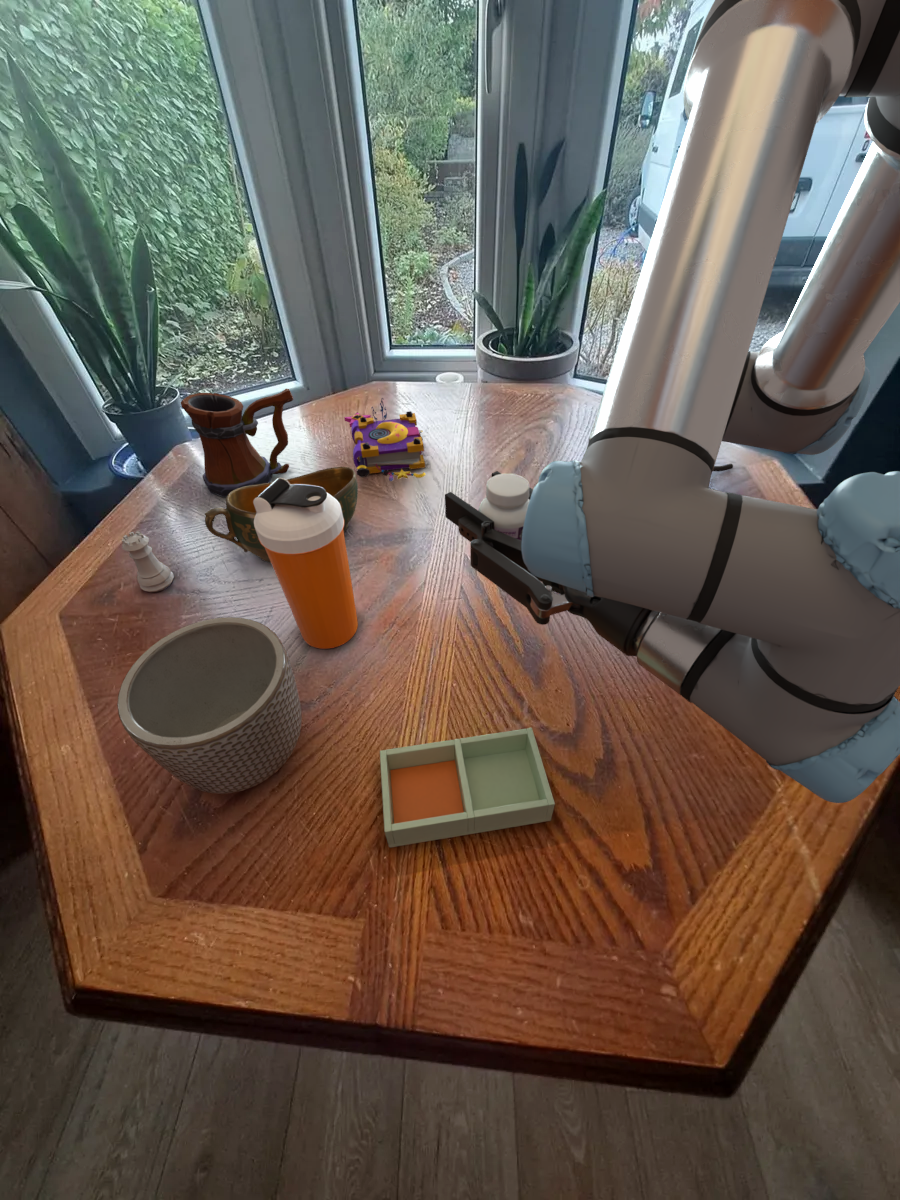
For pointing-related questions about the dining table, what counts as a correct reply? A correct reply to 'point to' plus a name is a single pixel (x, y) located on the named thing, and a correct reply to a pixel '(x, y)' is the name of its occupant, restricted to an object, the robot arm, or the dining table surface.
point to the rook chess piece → (147, 563)
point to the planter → (214, 704)
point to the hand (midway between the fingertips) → (471, 494)
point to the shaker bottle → (309, 559)
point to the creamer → (241, 499)
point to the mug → (235, 439)
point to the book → (386, 444)
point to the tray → (463, 787)
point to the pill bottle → (506, 503)
